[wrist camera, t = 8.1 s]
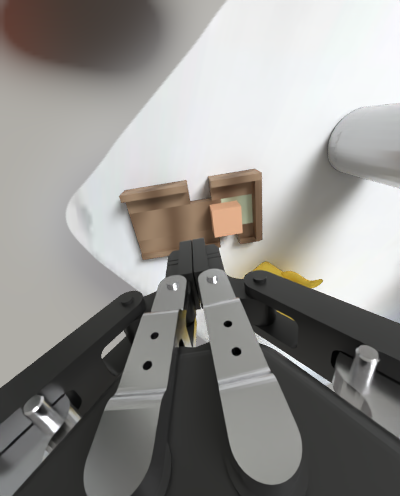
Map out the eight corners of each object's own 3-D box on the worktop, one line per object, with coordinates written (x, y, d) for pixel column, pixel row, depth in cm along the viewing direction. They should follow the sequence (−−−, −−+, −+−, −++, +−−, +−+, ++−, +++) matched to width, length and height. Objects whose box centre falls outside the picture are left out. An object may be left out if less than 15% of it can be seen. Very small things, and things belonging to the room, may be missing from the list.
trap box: (254, 168, 35) (261, 172, 32) (256, 236, 41) (262, 244, 38) (124, 190, 35) (119, 196, 32) (144, 254, 41) (141, 264, 38)
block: (236, 200, 36) (241, 206, 33) (238, 225, 38) (242, 233, 35) (209, 204, 36) (211, 210, 33) (212, 229, 38) (214, 237, 35)
